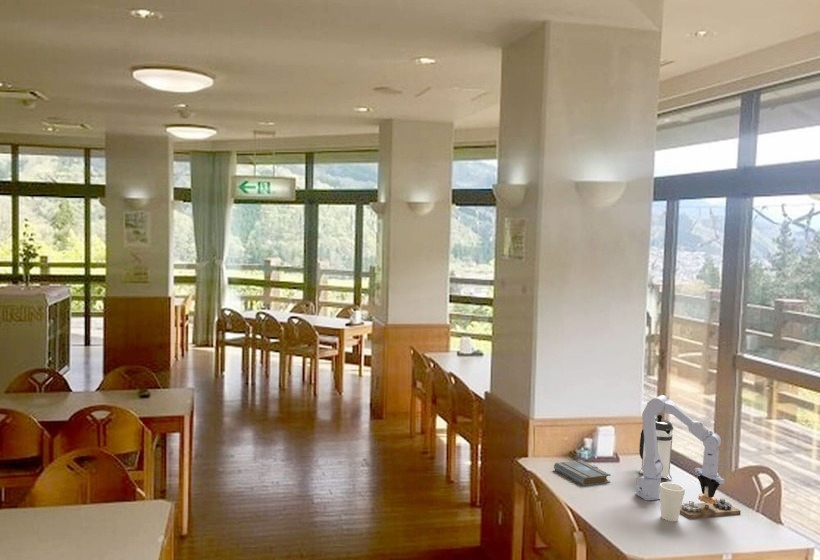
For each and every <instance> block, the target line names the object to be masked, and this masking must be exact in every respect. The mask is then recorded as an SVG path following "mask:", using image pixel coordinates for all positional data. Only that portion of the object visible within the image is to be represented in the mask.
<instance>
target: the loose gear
mask: <svg viewBox="0 0 820 560" xmlns="http://www.w3.org/2000/svg"><path fill="white" fill-rule="evenodd" d="M698 500H699V501H700V503H710V504H712V503H716V502H717V500H718V498H717V497H716V496H715V495H714V497H708V486H705V490H704V494H702V493H699V494H698Z"/></svg>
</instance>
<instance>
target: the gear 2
mask: <svg viewBox="0 0 820 560" xmlns="http://www.w3.org/2000/svg"><path fill="white" fill-rule="evenodd" d="M713 506H715V507H716V508H717V507H718V508H719V509H725V510H727V509H729V510H730V509H731V506H732V503H731V502H728V501H726V499H724V498H720V499H717V502H716V503H713Z"/></svg>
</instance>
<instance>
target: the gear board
mask: <svg viewBox="0 0 820 560" xmlns="http://www.w3.org/2000/svg"><path fill="white" fill-rule="evenodd" d="M694 504H695V505H699V507H701V508H700V512H696V513H693V512H691V511H690V512H688V511H687V510H683V508H682V505H681V509H680V514H681V515H682V516H683V517H685V518H687V519H689V520H690V519H700V518H703V519H704V518H711V517H713V518H714V517H723V516H733V515H732V514H735V515H741V510H740V508H737V507H735V506H731V509H730V510H729V509H727V510H725V509H719V508H718V507H717V508H716V507H715V506H713V503H712V504H710V503H705V502H698V503H694ZM680 514H679V515H680Z"/></svg>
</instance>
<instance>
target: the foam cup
mask: <svg viewBox="0 0 820 560" xmlns="http://www.w3.org/2000/svg"><path fill="white" fill-rule="evenodd" d="M659 491H660V499H659V503H660V516H661V519H663V520H664V519H665V521H667V520H668V522H678V520H679V517H680V509H681V505H682V504H683V501H684V496H685V493H686V492H685V491H686V488H685V486H682V484H681V485H680V484H679V483H673V482H661V484H660V486H659Z"/></svg>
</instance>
